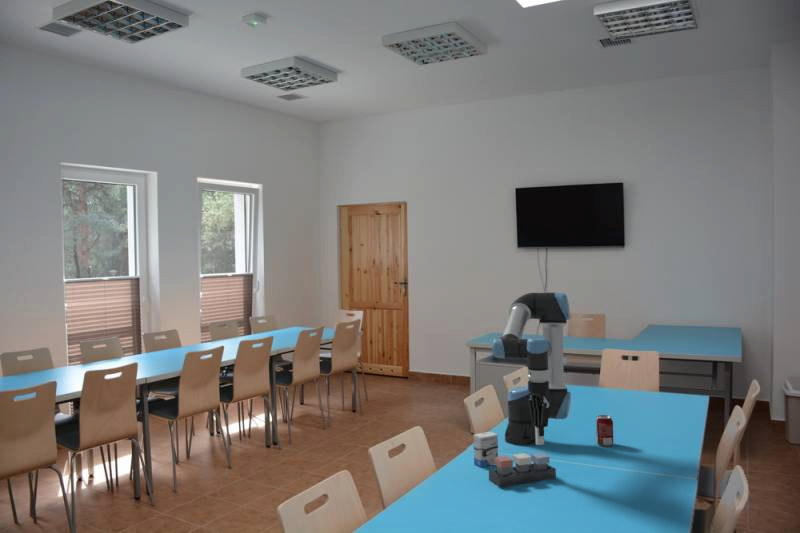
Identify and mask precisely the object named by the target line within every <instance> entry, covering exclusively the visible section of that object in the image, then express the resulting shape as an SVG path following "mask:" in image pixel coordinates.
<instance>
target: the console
mask: <svg viewBox="0 0 800 533" xmlns="http://www.w3.org/2000/svg"><path fill="white" fill-rule="evenodd" d="M554 479H557V469H556V468H555V467H553V466H551V465H549V463H547V469H542V470H537V469H535V468H534V463H531V464H529V472H523V473H520V472H518V471H517V470H516V466H513V467H510V475H504V476H501V475H500V474H499V473H497V469H496V468H495V469H491V470H488V481H489V480H490V482H491V483H492V482H493V483H494V484H493V485H495V486H496V485H497V486H498V488H499V489H501V488H500V487H502V488H507V487H511V486H512V487H513V486H519V485H520V486H521V485H526V484H530V483H532V484H533V483H536V482H537V483H538V482H543V481H550V480H554ZM497 486H496V487H497Z"/></svg>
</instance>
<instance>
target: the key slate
mask: <svg viewBox="0 0 800 533" xmlns="http://www.w3.org/2000/svg"><path fill="white" fill-rule="evenodd" d="M530 457H531V463H533V464H534V468H535V469H537V470H542V469H547V464H550V456H549V455H547V454H545V453H544V452H539V453H531V454H530Z"/></svg>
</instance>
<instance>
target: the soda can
mask: <svg viewBox="0 0 800 533" xmlns="http://www.w3.org/2000/svg"><path fill="white" fill-rule="evenodd" d="M613 420H614V419H612V416H611V415H608V414H607V415H606V414H599V415H597V418H596V421H595V422H596V423H595V425H596V426H595V427H596V429H595V430H596V431H595V432H596V433H595V434H596V444H598V446H601V447H607V448H608V447H612V446H613V445H614V421H613Z"/></svg>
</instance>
